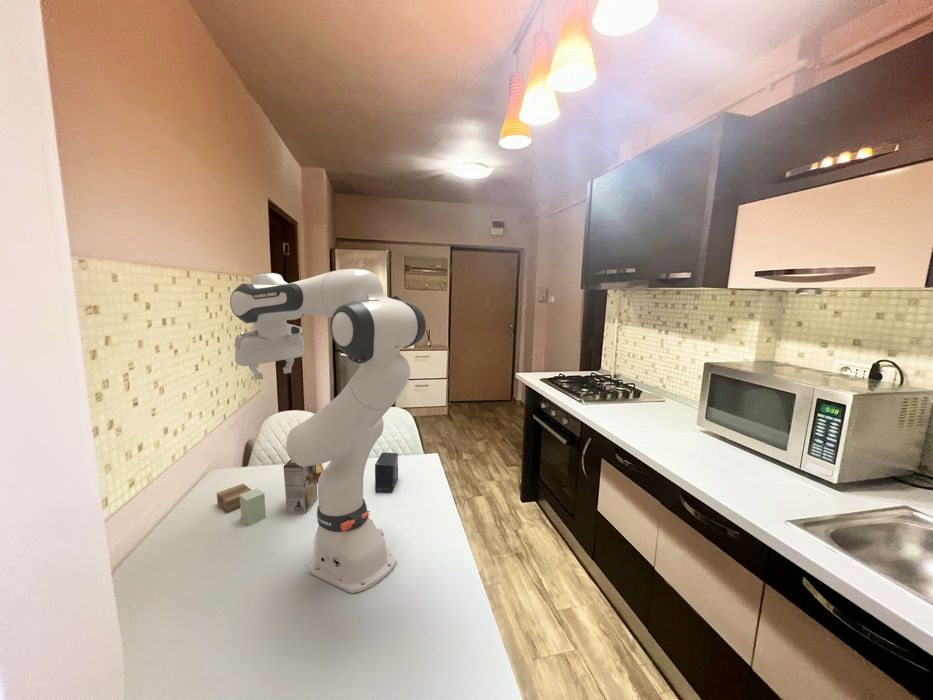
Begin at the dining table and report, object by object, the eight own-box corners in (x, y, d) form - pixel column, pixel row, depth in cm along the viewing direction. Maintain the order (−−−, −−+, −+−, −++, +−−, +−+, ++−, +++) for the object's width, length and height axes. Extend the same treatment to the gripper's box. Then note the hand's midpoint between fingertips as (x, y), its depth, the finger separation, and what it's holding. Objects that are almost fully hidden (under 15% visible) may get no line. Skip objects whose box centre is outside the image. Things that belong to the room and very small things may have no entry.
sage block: (265, 517, 117) (264, 493, 116) (248, 525, 113) (246, 500, 112) (258, 511, 120) (256, 488, 119) (241, 519, 116) (239, 494, 115)
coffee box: (299, 498, 128) (296, 453, 126) (318, 498, 128) (315, 453, 126) (286, 513, 119) (282, 465, 117) (306, 514, 119) (303, 465, 117)
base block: (254, 502, 125) (253, 491, 125) (227, 513, 119) (226, 501, 118) (244, 494, 130) (243, 483, 129) (217, 504, 124) (216, 493, 123)
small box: (393, 493, 132) (392, 465, 130) (374, 493, 132) (373, 464, 130) (399, 478, 142) (398, 452, 141) (381, 478, 142) (381, 451, 141)
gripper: (241, 333, 101) (245, 384, 103) (306, 327, 118) (308, 371, 121) (227, 332, 104) (231, 381, 106) (293, 326, 121) (295, 369, 123)
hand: (273, 376), depth 113 cm, fingers open, 8 cm apart
